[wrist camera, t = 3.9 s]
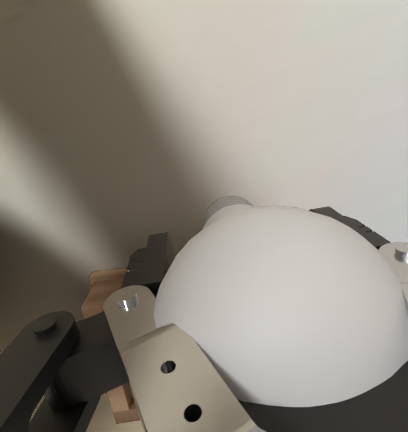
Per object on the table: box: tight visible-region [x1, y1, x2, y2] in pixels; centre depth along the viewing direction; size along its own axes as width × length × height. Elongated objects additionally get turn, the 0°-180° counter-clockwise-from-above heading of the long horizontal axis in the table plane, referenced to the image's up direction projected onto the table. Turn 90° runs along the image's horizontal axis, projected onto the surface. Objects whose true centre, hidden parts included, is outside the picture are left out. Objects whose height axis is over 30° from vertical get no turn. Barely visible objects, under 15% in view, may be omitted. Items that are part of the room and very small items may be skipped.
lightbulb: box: [154, 196, 408, 407], centre depth 10 cm, size 6×6×11 cm
